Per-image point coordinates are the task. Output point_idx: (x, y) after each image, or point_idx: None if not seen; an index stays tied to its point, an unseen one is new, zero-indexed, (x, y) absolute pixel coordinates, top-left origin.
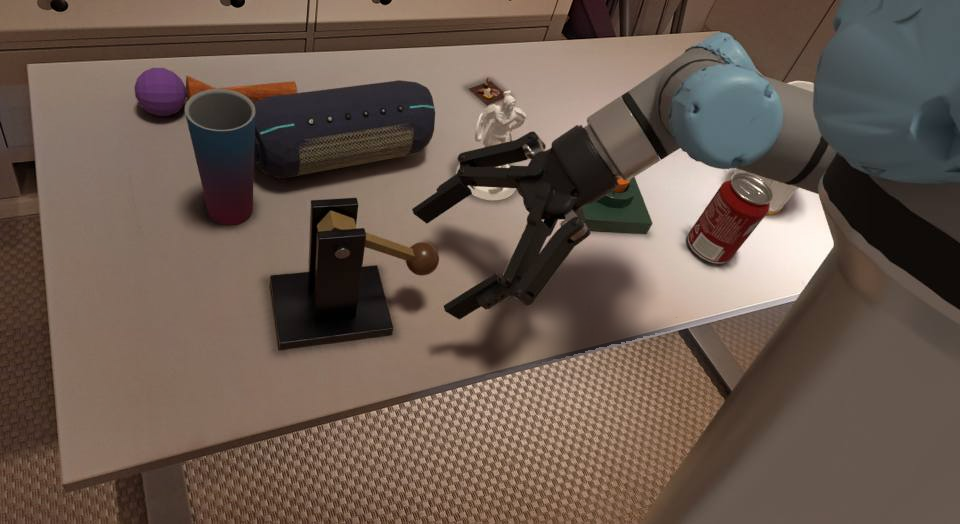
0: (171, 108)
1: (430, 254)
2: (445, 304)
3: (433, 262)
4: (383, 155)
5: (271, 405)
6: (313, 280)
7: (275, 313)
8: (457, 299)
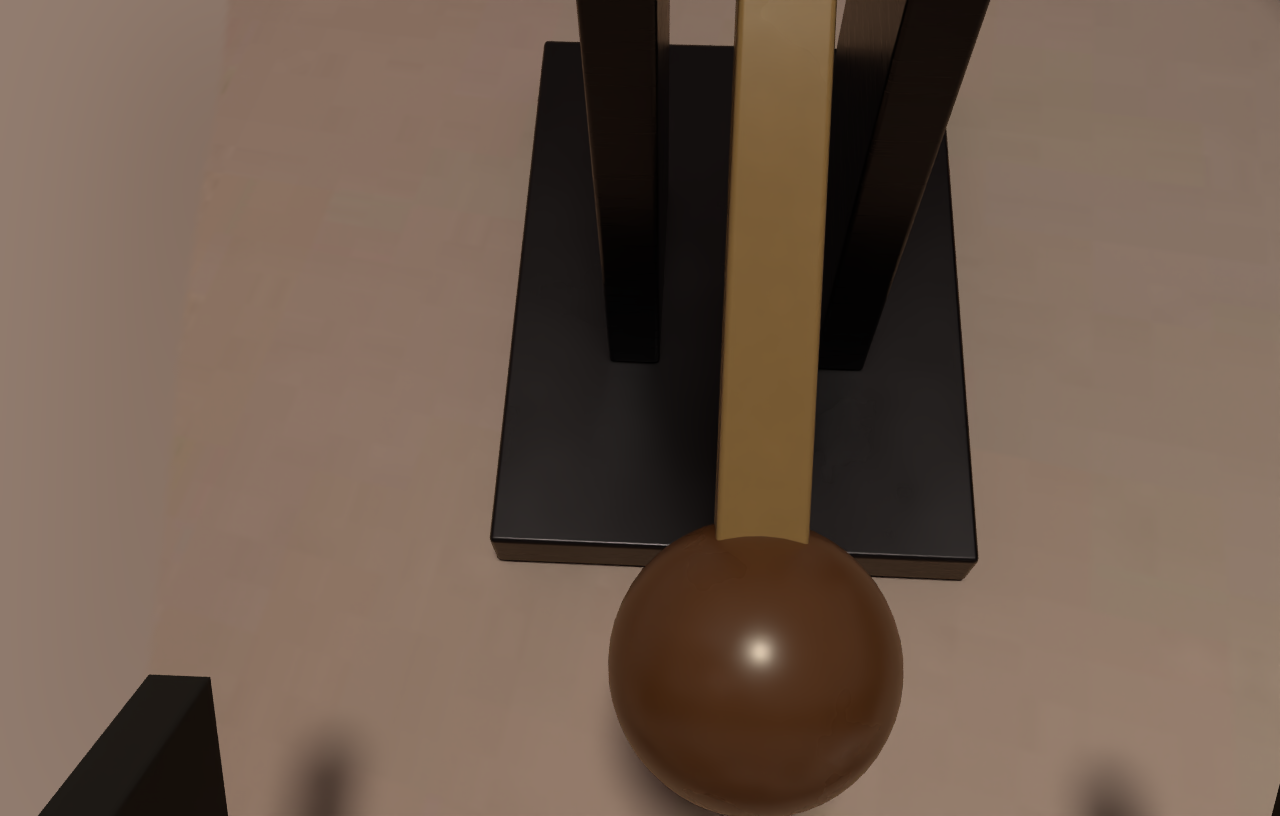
0: None
1: (695, 671)
2: (197, 687)
3: (638, 704)
4: None
5: (304, 23)
6: None
7: (712, 46)
8: (122, 765)
